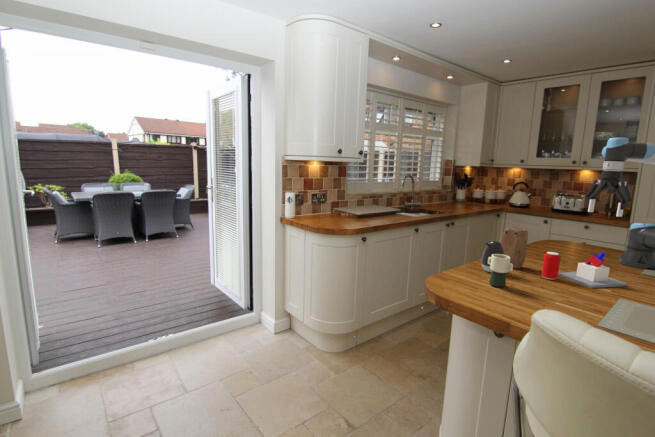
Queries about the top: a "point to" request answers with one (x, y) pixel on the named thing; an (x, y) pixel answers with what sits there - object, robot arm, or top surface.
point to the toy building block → (596, 259)
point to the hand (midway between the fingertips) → (604, 214)
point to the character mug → (499, 269)
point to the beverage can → (551, 265)
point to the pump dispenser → (490, 253)
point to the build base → (590, 283)
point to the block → (515, 245)
